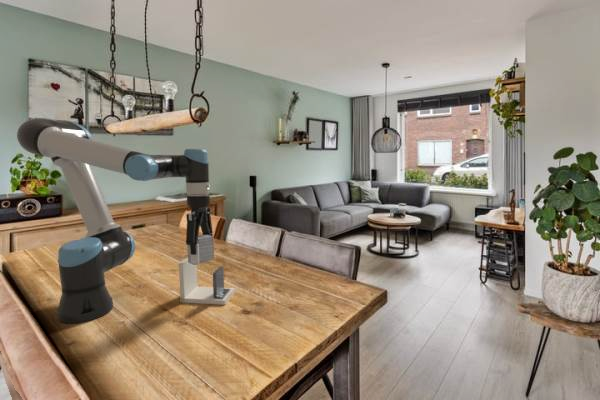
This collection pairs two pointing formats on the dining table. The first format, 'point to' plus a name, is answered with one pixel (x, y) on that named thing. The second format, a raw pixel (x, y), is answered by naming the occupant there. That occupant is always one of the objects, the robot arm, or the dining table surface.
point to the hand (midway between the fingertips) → (201, 258)
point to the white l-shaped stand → (197, 287)
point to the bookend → (219, 284)
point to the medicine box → (204, 249)
